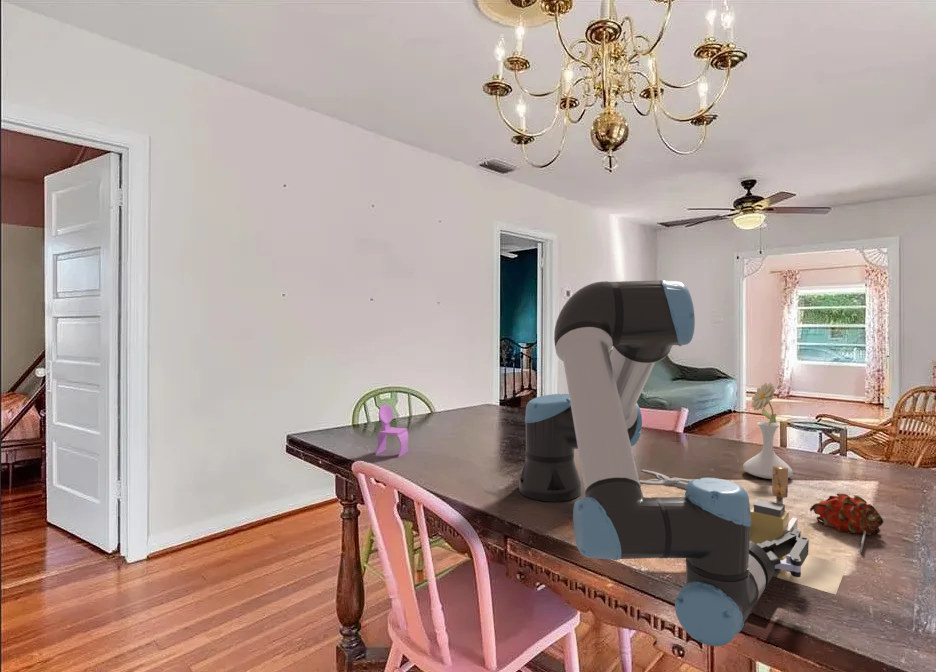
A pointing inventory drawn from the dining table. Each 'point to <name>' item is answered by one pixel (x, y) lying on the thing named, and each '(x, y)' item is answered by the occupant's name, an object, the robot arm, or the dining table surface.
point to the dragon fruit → (848, 514)
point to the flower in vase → (765, 438)
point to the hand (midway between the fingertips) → (776, 521)
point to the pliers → (666, 480)
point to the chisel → (780, 483)
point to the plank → (817, 574)
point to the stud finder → (768, 522)
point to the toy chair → (390, 431)
